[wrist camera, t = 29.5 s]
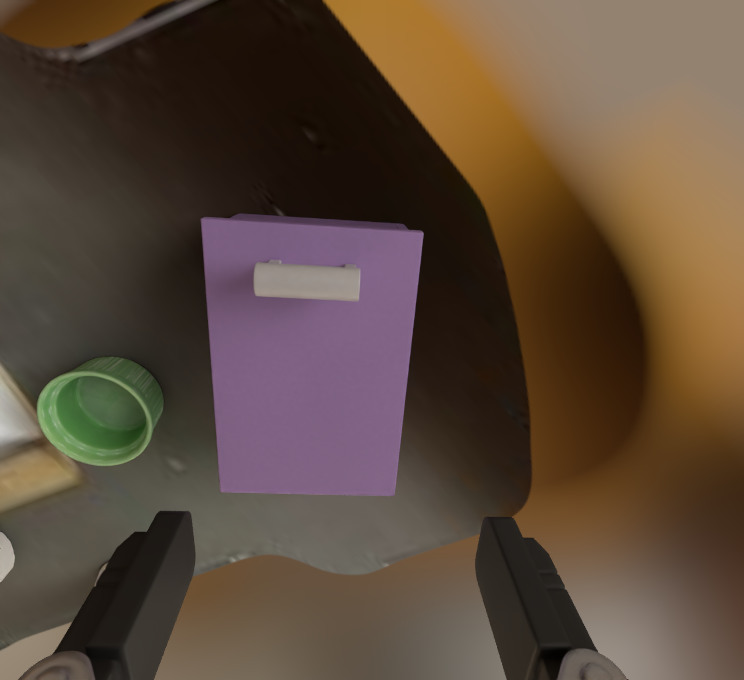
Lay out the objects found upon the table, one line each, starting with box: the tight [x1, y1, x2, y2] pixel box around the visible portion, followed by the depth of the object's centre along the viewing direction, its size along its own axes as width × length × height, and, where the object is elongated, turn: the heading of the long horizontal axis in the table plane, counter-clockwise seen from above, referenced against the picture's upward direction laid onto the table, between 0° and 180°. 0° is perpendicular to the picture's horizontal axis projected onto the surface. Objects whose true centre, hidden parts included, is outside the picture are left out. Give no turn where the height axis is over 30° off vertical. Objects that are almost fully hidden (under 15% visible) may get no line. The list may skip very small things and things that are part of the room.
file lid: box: [201, 217, 423, 496], centre depth 28 cm, size 20×13×5 cm, turn 176°
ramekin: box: [37, 356, 164, 466], centre depth 38 cm, size 9×9×4 cm
